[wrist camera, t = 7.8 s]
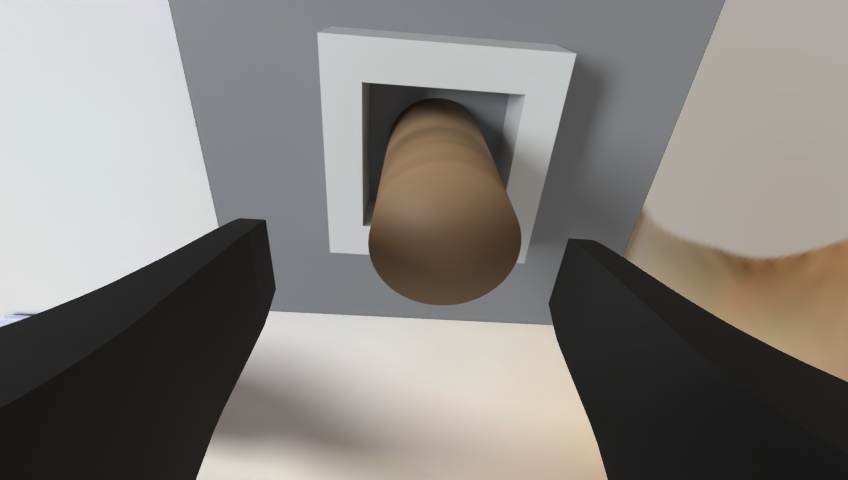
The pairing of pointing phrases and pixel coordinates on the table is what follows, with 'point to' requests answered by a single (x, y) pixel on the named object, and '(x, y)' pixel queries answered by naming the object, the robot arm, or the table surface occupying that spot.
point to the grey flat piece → (421, 79)
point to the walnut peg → (441, 209)
